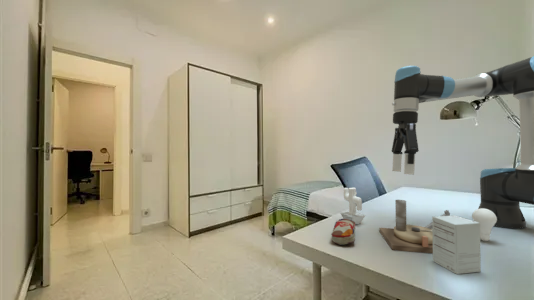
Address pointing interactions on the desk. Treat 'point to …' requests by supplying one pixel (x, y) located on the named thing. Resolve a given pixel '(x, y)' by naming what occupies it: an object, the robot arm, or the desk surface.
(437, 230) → the supplement box
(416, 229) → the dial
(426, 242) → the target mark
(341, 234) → the pencil case
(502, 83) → the robot arm
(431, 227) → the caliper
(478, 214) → the lightbulb
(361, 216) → the figurine
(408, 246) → the stand
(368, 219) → the desk surface
